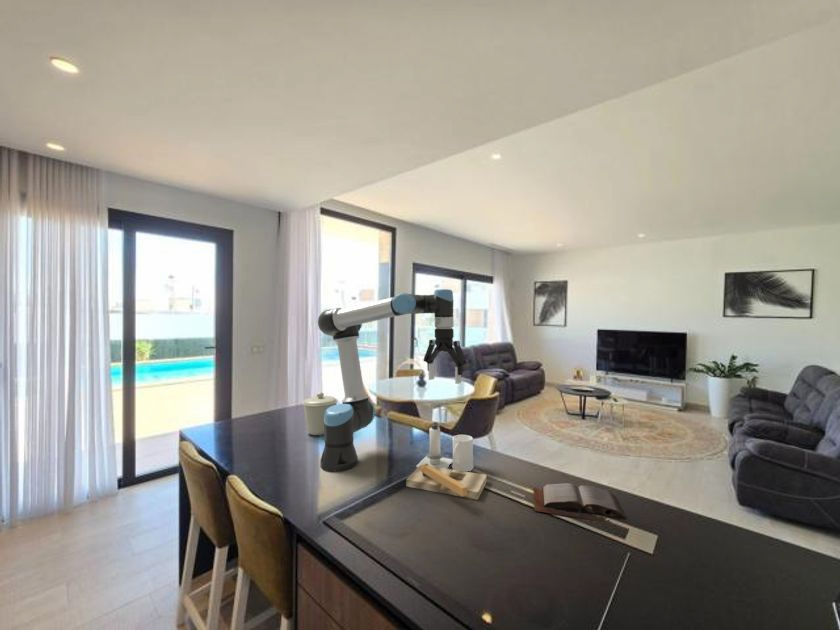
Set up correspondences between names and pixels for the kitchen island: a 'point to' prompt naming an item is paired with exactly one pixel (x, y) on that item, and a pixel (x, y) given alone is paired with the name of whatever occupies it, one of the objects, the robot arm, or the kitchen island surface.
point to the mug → (462, 453)
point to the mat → (443, 464)
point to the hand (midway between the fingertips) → (444, 381)
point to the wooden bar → (444, 479)
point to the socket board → (469, 479)
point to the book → (577, 501)
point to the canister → (317, 412)
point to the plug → (434, 445)
